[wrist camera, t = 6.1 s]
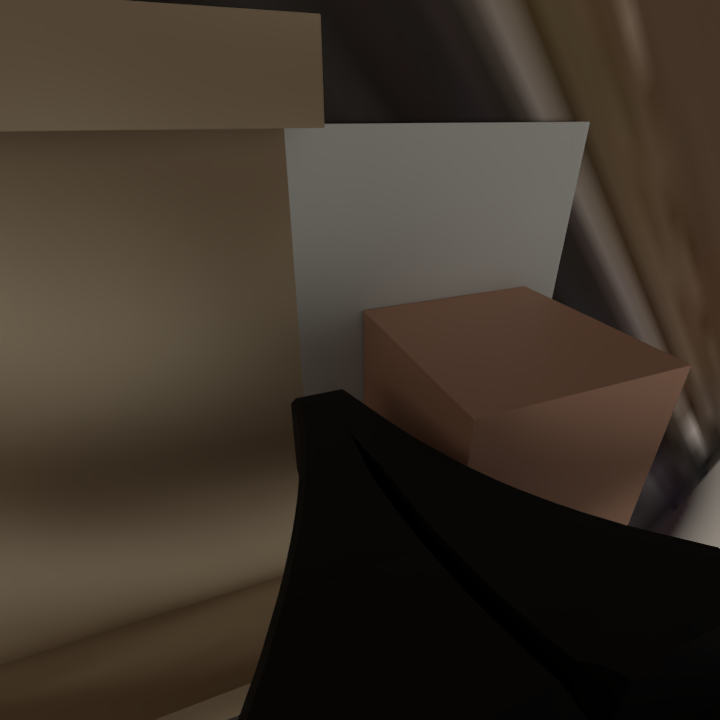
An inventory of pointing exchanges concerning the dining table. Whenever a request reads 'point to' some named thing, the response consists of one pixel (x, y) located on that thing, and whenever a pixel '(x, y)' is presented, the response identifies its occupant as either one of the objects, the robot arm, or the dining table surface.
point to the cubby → (146, 350)
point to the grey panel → (419, 223)
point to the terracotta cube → (525, 393)
